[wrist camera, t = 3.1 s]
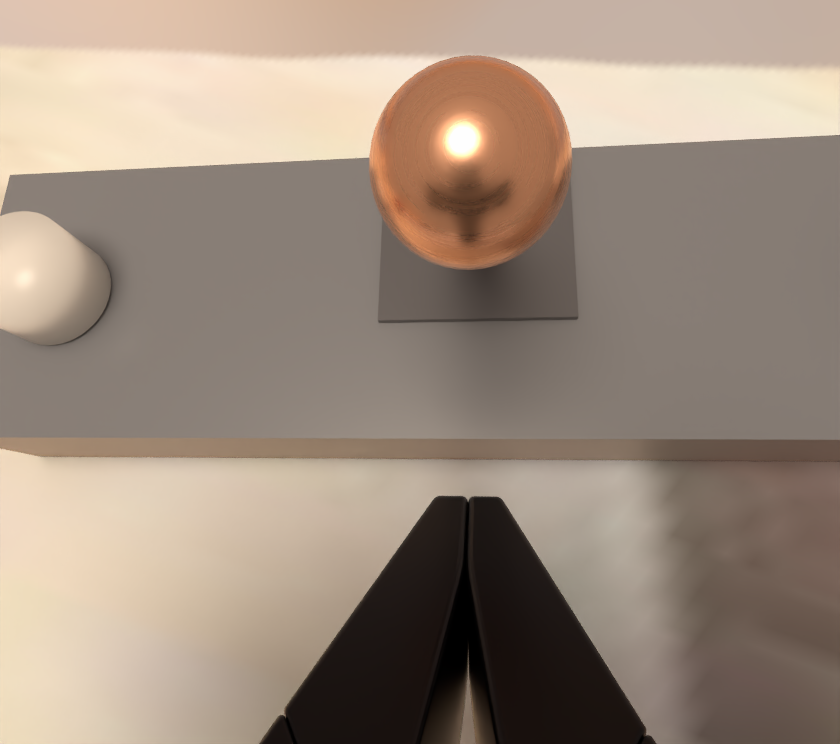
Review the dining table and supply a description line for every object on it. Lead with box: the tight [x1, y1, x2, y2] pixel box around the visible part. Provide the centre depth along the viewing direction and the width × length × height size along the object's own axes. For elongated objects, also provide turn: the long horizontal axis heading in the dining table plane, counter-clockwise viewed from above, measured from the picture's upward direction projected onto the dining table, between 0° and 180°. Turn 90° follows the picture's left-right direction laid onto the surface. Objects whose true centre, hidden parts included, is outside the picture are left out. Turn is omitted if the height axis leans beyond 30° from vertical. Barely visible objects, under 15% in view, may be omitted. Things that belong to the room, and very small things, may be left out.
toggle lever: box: [369, 56, 572, 270], centre depth 10 cm, size 2×2×9 cm
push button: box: [0, 211, 111, 345], centre depth 15 cm, size 3×3×2 cm
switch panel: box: [0, 135, 840, 461], centre depth 17 cm, size 8×28×4 cm, turn 89°
